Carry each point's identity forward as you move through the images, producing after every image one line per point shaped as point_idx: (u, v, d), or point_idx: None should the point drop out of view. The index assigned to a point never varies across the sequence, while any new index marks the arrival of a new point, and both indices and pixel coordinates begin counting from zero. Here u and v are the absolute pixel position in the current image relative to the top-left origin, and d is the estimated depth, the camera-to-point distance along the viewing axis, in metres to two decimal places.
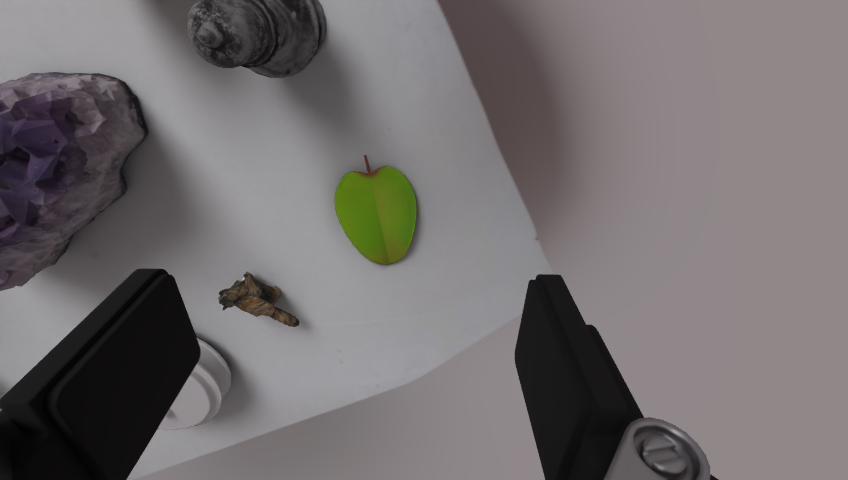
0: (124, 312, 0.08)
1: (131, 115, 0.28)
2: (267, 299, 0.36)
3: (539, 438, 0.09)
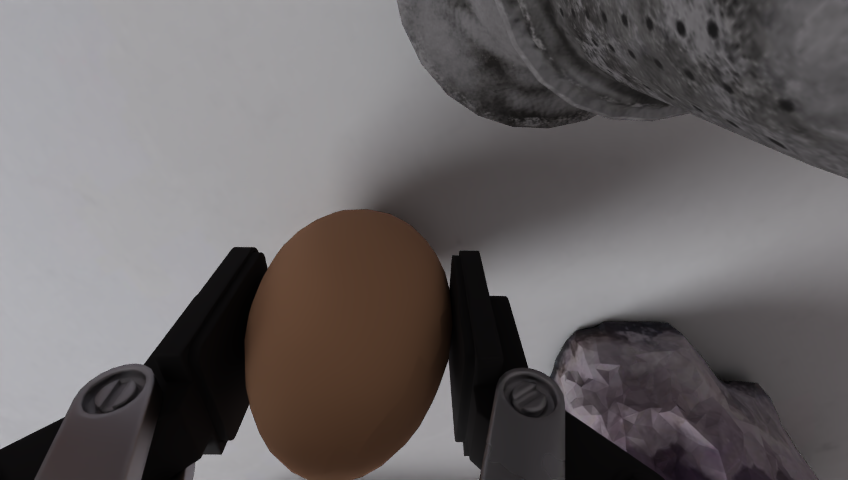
0: (234, 283, 0.09)
1: (643, 344, 0.15)
2: None
3: (452, 397, 0.10)
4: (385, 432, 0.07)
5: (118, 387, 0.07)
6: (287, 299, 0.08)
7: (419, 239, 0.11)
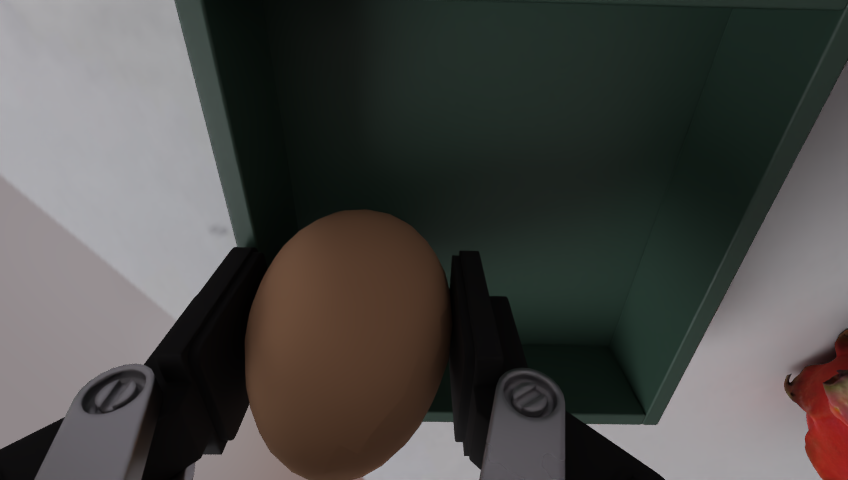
0: (234, 283, 0.09)
1: None
2: None
3: (453, 397, 0.10)
4: (385, 431, 0.07)
5: (118, 387, 0.07)
6: (287, 299, 0.08)
7: (419, 239, 0.11)
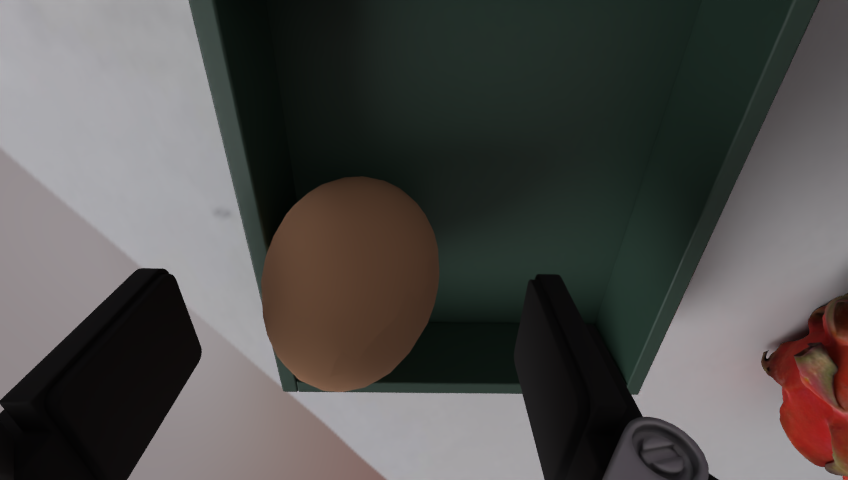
0: (125, 312, 0.08)
1: None
2: None
3: (538, 437, 0.09)
4: (380, 346, 0.09)
5: None
6: (299, 241, 0.10)
7: (411, 201, 0.12)
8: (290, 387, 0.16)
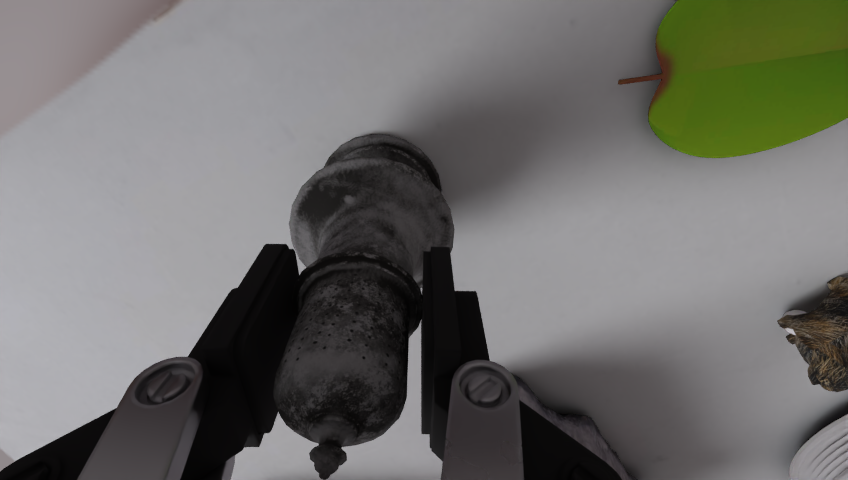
0: (270, 279, 0.10)
1: None
2: None
3: None
4: None
5: (169, 379, 0.07)
6: None
7: None
8: None
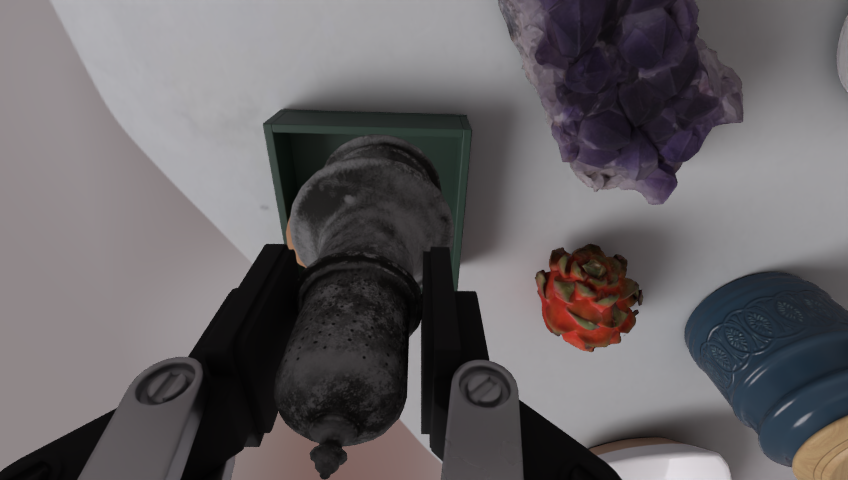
0: (270, 279, 0.10)
1: None
2: None
3: (421, 391, 0.10)
4: None
5: (169, 379, 0.07)
6: None
7: None
8: None
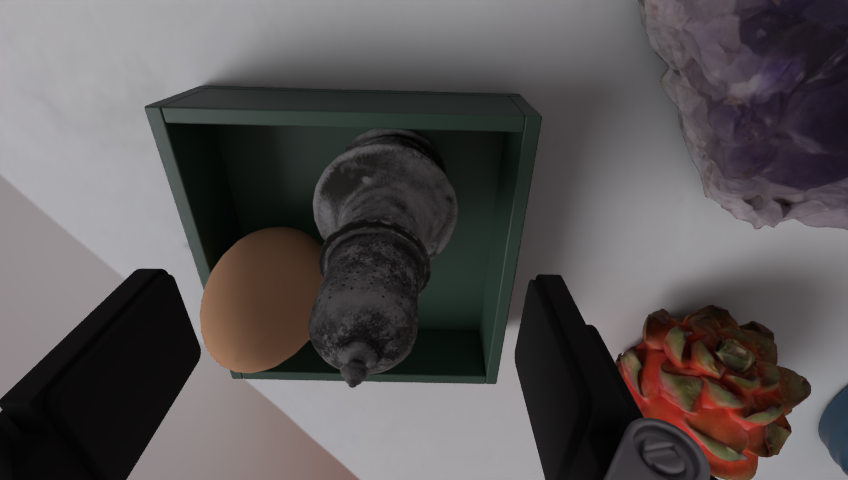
0: (124, 312, 0.08)
1: None
2: None
3: (539, 438, 0.09)
4: (267, 343, 0.15)
5: None
6: (222, 277, 0.15)
7: (309, 245, 0.18)
8: (237, 375, 0.21)
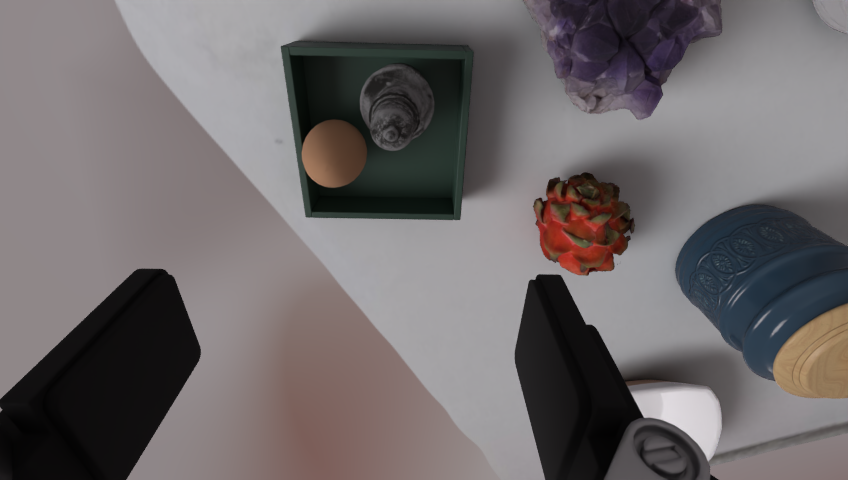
0: (124, 312, 0.08)
1: None
2: None
3: (539, 438, 0.09)
4: (340, 164, 0.30)
5: None
6: (315, 135, 0.31)
7: (355, 128, 0.33)
8: (309, 214, 0.36)
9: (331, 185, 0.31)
